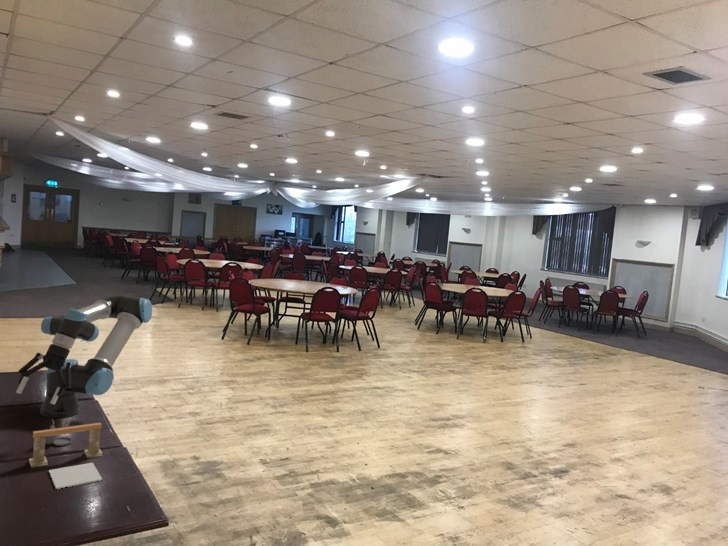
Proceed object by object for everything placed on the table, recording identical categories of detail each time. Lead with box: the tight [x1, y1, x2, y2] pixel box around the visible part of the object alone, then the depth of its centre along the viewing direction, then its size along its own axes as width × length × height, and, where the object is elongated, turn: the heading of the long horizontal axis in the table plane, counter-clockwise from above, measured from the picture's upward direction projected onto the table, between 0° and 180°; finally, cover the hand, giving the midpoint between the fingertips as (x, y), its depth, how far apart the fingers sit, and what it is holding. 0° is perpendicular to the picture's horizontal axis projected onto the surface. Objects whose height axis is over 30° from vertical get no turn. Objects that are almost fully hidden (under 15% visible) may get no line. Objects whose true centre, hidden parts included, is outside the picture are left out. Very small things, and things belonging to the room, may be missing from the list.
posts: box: [28, 429, 103, 469], centre depth 200 cm, size 23×5×10 cm, turn 129°
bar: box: [32, 422, 103, 439], centre depth 200 cm, size 22×2×2 cm, turn 129°
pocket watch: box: [49, 418, 73, 446], centre depth 212 cm, size 8×8×10 cm
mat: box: [48, 462, 103, 490], centre depth 189 cm, size 14×14×1 cm
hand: (35, 398), depth 211 cm, fingers open, 13 cm apart
